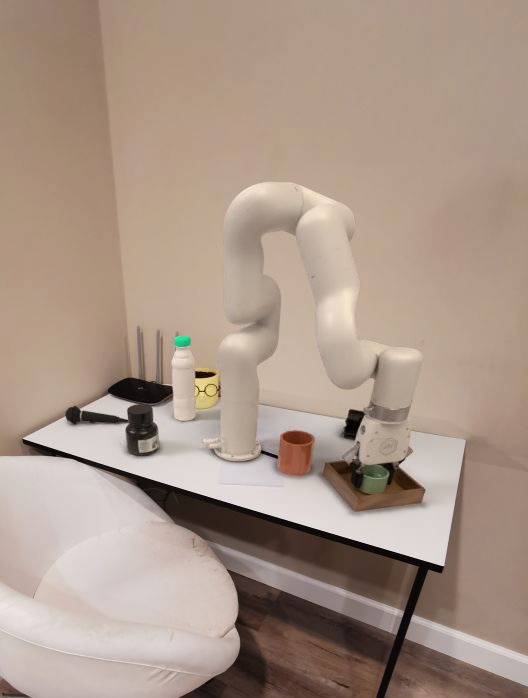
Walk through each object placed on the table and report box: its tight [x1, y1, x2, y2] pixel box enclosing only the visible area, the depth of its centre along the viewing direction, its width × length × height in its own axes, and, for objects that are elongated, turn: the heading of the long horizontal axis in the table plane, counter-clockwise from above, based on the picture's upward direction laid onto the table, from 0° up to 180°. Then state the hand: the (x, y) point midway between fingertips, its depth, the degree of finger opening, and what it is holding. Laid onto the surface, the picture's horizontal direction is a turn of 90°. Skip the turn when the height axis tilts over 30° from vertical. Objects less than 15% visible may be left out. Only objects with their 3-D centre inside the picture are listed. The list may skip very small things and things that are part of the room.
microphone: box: [64, 405, 129, 425], centre depth 135 cm, size 6×6×20 cm
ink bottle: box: [125, 403, 160, 456], centre depth 117 cm, size 10×9×12 cm
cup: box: [276, 429, 316, 477], centre depth 105 cm, size 8×8×8 cm
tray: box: [322, 458, 426, 513], centre depth 98 cm, size 15×15×4 cm
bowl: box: [358, 464, 389, 495], centre depth 97 cm, size 6×6×4 cm
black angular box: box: [342, 408, 366, 441], centre depth 118 cm, size 10×7×7 cm
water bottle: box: [170, 335, 197, 422], centre depth 130 cm, size 7×7×25 cm
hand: (370, 482), depth 98 cm, fingers closed on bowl, 6 cm apart
